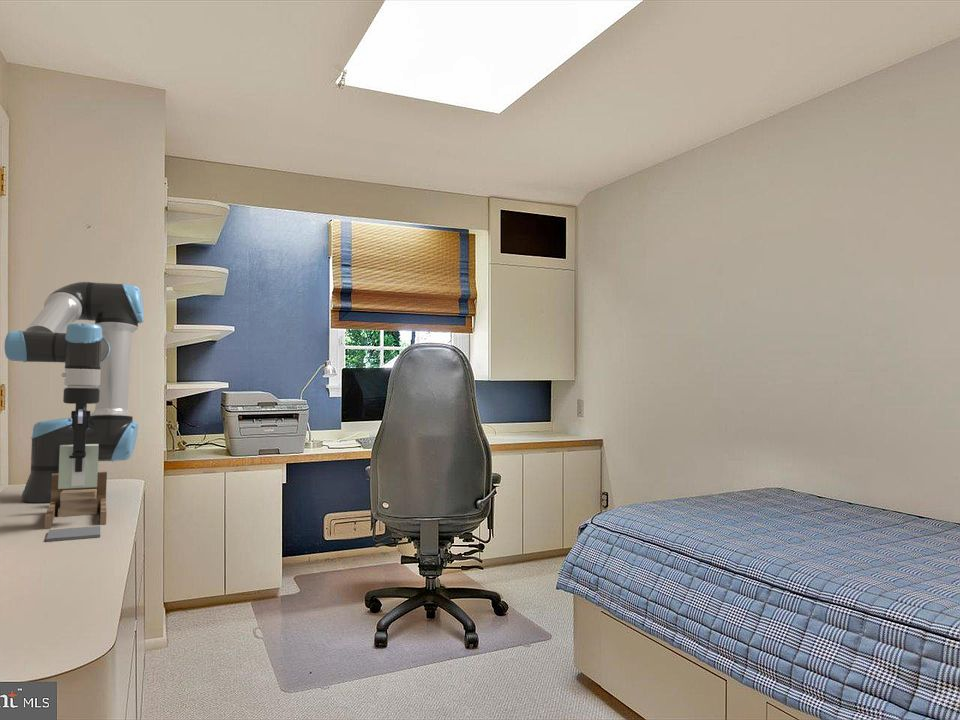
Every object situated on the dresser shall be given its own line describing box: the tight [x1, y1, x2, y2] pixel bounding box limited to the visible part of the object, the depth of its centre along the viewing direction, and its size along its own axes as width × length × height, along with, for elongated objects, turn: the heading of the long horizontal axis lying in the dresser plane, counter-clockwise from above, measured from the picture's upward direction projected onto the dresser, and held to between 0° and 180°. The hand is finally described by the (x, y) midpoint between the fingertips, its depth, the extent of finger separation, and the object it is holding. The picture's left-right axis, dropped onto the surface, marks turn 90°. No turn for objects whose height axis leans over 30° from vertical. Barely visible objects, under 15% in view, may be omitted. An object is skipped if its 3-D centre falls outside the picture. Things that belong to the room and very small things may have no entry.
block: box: [58, 444, 99, 489], centre depth 161 cm, size 4×8×10 cm, turn 120°
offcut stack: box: [57, 489, 98, 517], centre depth 172 cm, size 5×9×6 cm, turn 120°
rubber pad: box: [45, 525, 101, 542], centre depth 148 cm, size 10×10×1 cm
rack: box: [44, 471, 108, 530], centre depth 167 cm, size 22×12×10 cm, turn 30°
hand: (78, 483), depth 161 cm, fingers closed on block, 4 cm apart
